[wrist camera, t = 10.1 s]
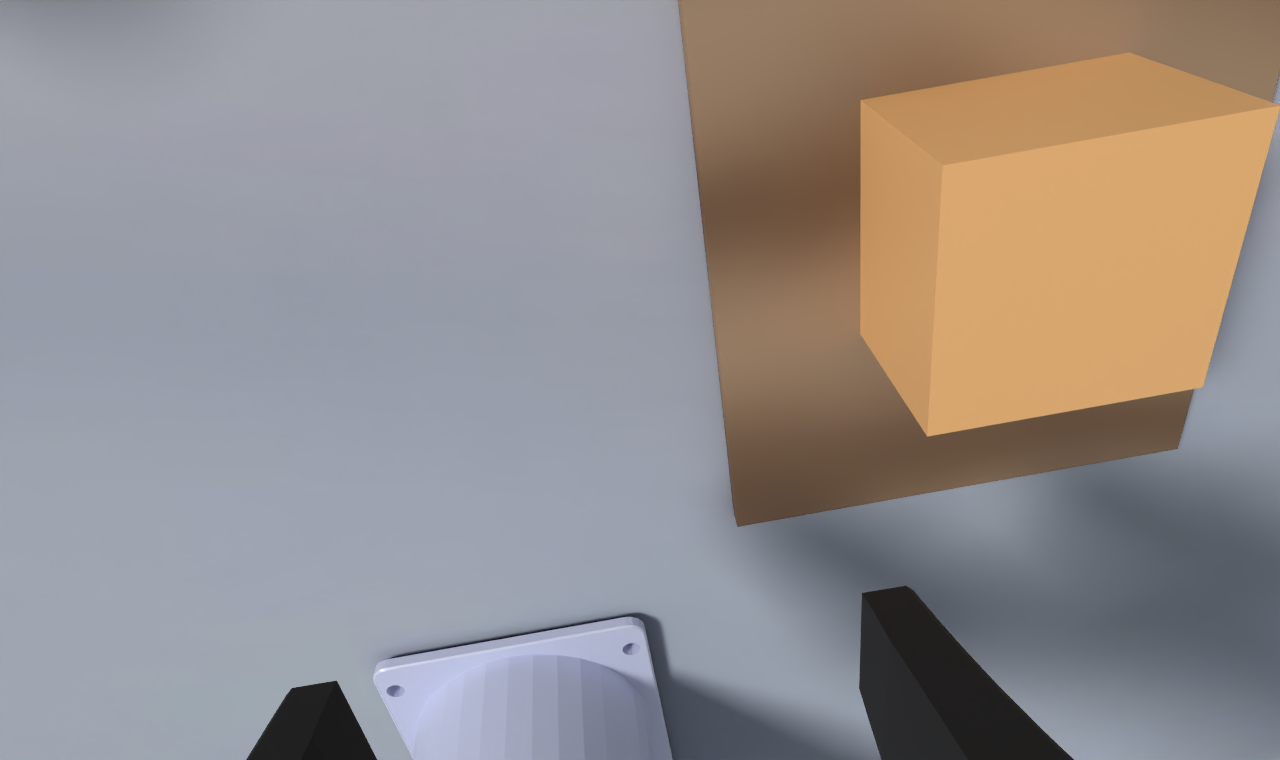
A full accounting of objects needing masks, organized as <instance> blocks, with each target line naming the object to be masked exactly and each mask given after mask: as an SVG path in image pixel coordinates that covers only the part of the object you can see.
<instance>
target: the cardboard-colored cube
mask: <svg viewBox="0 0 1280 760" xmlns="http://www.w3.org/2000/svg"><path fill="white" fill-rule="evenodd" d="M1279 110H1280V105H1278V104H1275V103H1272V102H1269V101H1266V100H1263V99H1261V98H1258V97H1255V96H1252V95H1249V94H1246V93H1244V92H1241V91H1238V90H1235V89H1232V88H1229V87H1226V86H1224V85H1221V84H1218V83H1215V82H1212V81H1209V80H1206V79H1204V78H1201V77H1198V76H1195V75H1192V74H1189V73H1186V72H1184V71H1181V70H1178V69H1175V68H1172V67H1169V66H1167V65H1164V64H1161V63H1158V62H1155V61H1152V60H1149V59H1147V58H1144V57H1141V56H1138V55H1135V54H1132V53H1124V54H1119V55H1113V56H1107V57H1102V58H1096V59H1090V60H1085V61H1079V62H1074V63H1068V64H1062V65H1057V66H1051V67H1045V68H1040V69H1034V70H1028V71H1023V72H1017V73H1011V74H1006V75H1000V76H994V77H989V78H983V79H978V80H972V81H966V82H961V83H955V84H949V85H944V86H938V87H932V88H927V89H921V90H915V91H910V92H904V93H898V94H893V95H887V96H881V97H876V98H870V99H865V100H861V199H860V334H861V336H862V338H863V339H864V341H865V342H866V344H867V345H868V347H869V348H870V350H871V351H872V353H873V354H874V356H875V357H876V359H877V360H878V362H879V364H880V365H881V367H882V368H883V370H884V371H885V373H886V374H887V376H888V377H889V379H890V380H891V382H892V383H893V385H894V386H895V388H896V390H897V391H898V393H899V394H900V396H901V397H902V399H903V400H904V402H905V403H906V405H907V406H908V408H909V409H910V411H911V412H912V414H913V416H914V417H915V419H916V420H917V422H918V423H919V425H920V426H921V428H922V429H923V431H924V432H925V434H926V435H927V437H928V436H933V435H939V434H945V433H950V432H956V431H961V430H967V429H973V428H978V427H984V426H989V425H995V424H1001V423H1006V422H1012V421H1017V420H1023V419H1029V418H1034V417H1040V416H1045V415H1051V414H1057V413H1062V412H1068V411H1073V410H1079V409H1085V408H1090V407H1096V406H1101V405H1107V404H1112V403H1118V402H1124V401H1129V400H1135V399H1140V398H1146V397H1152V396H1157V395H1163V394H1168V393H1174V392H1180V391H1185V390H1191V389H1196V388H1202V387H1203V385H1204V381H1205V378H1206V374H1207V370H1208V367H1209V363H1210V360H1211V356H1212V352H1213V349H1214V345H1215V342H1216V338H1217V334H1218V331H1219V327H1220V323H1221V320H1222V316H1223V313H1224V309H1225V305H1226V302H1227V298H1228V294H1229V291H1230V287H1231V284H1232V280H1233V276H1234V273H1235V269H1236V266H1237V262H1238V258H1239V255H1240V251H1241V247H1242V244H1243V240H1244V237H1245V233H1246V229H1247V226H1248V222H1249V218H1250V215H1251V211H1252V208H1253V204H1254V200H1255V197H1256V193H1257V190H1258V186H1259V182H1260V179H1261V175H1262V171H1263V168H1264V164H1265V161H1266V157H1267V153H1268V150H1269V146H1270V142H1271V139H1272V135H1273V132H1274V128H1275V124H1276V121H1277V117H1278V114H1279Z"/></svg>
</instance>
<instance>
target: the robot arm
mask: <svg viewBox="0 0 1280 760" xmlns="http://www.w3.org/2000/svg"><path fill="white" fill-rule="evenodd" d="M629 643H634V644H629ZM373 681H374V684H375V685H376V687H377V689H378V691H379V693H380V695H381V697H382V699H383V701H384V703H385V705H386V707H387V709H388V711H389V713H390V715H391V717H392V719H393V721H394V723H395V725H396V727H397V729H398V731H399V733H400V735H401V737H402V739H403V741H404V743H405V744H406V746H407V748H408V750H409V752H410V754H411V756H412V758H413V760H673V758H672V753H671V749H670V744H669V739H668V734H667V730H666V725H665V720H664V715H663V711H662V706H661V701H660V696H659V692H658V687H657V682H656V677H655V672H654V668H653V663H652V658H651V653H650V649H649V644H648V639H647V634H646V630H645V625H644V623H643V622H642V621H641V620H640V619H638V618H634V617H622V618H617V619H611V620H605V621H600V622H594V623H589V624H583V625H577V626H572V627H566V628H560V629H555V630H549V631H544V632H538V633H532V634H527V635H521V636H515V637H510V638H504V639H499V640H493V641H487V642H482V643H476V644H470V645H465V646H459V647H454V648H448V649H442V650H437V651H431V652H425V653H420V654H414V655H409V656H403V657H397V658H392V659H387V660H384V661H381V662H380V663H378V664H377V665H376V667H375V670H374V675H373ZM859 689H860V692H861V695H862V698H863V702H864V705H865V708H866V712H867V715H868V718H869V721H870V725H871V728H872V731H873V734H874V737H875V740H876V744H877V747H878V750H879V753H880V756H881V759H882V760H1074V759H1073V758H1072V757H1070V756H1069V755H1068V754H1067V753H1066V752H1065V751H1064V750H1063V749H1062V748H1061V747H1060V746H1059V745H1058V744H1057V743H1056V742H1055V741H1054V740H1053V739H1051V738H1050V737H1049V736H1048V735H1047V734H1046V733H1045V732H1044V731H1043V730H1042V729H1041V728H1040V727H1039V726H1038V725H1037V724H1036V723H1035V722H1034V721H1033V720H1032V719H1031V718H1030V717H1029V716H1028V715H1027V714H1026V713H1025V712H1024V711H1023V710H1022V709H1021V708H1020V707H1019V706H1018V705H1017V704H1016V703H1015V702H1014V701H1013V700H1012V699H1011V698H1010V697H1009V696H1008V695H1007V694H1006V693H1005V692H1004V691H1003V690H1002V689H1001V688H1000V687H999V686H998V685H997V684H996V683H995V682H994V680H993V679H992V678H991V677H990V676H989V675H988V674H987V673H986V672H985V671H984V670H983V669H982V668H981V667H980V666H979V665H978V663H977V662H976V661H975V660H974V659H973V658H972V657H971V656H970V655H969V654H968V653H967V652H966V650H965V649H964V648H963V647H962V646H961V645H960V644H959V643H958V642H957V641H956V639H955V638H954V637H953V636H952V635H951V634H950V633H949V632H948V630H947V629H946V628H945V627H944V626H943V625H942V624H941V622H940V621H939V620H938V619H937V618H936V617H935V616H934V614H933V613H932V612H931V611H930V610H929V609H928V607H927V606H926V605H925V604H924V603H923V601H922V600H921V599H920V598H919V597H918V595H917V594H916V593H915V592H914V591H913V590H912V589H910V588H909V587H907V586H902V587H896V588H890V589H884V590H878V591H872V592H866V593H862V615H861V650H860V684H859ZM246 760H377V759H376V757H375V755H374V753H373V751H372V749H371V747H370V745H369V743H368V741H367V739H366V737H365V735H364V733H363V731H362V729H361V727H360V725H359V723H358V721H357V720H356V718H355V716H354V714H353V712H352V710H351V708H350V706H349V704H348V702H347V700H346V698H345V696H344V694H343V692H342V690H341V688H340V686H339V684H338V682H337V681H332V682H326V683H320V684H314V685H308V686H302V687H296V688H292V689H291V690H290V691H289V693H288V694H287V695H286V697H285V698H284V700H283V702H282V703H281V705H280V706H279V708H278V710H277V711H276V713H275V714H274V716H273V718H272V719H271V721H270V722H269V724H268V726H267V727H266V729H265V730H264V732H263V734H262V735H261V737H260V739H259V740H258V742H257V743H256V745H255V747H254V748H253V750H252V751H251V753H250V755H249V756H248V758H247V759H246Z"/></svg>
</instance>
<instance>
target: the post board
mask: <svg viewBox="0 0 1280 760" xmlns="http://www.w3.org/2000/svg"><path fill="white" fill-rule="evenodd" d="M678 6H679V15H680V24H681V33H682V42H683V51H684V60H685V70H686V79H687V88H688V97H689V106H690V115H691V124H692V134H693V143H694V152H695V161H696V170H697V179H698V189H699V198H700V207H701V216H702V225H703V234H704V243H705V253H706V262H707V271H708V280H709V289H710V298H711V308H712V317H713V326H714V335H715V344H716V353H717V362H718V372H719V381H720V390H721V399H722V408H723V417H724V427H725V436H726V445H727V454H728V463H729V472H730V481H731V491H732V500H733V509H734V516H735V519H736V523H737V526H738V527H739V526H744V525H750V524H756V523H761V522H767V521H772V520H778V519H784V518H789V517H795V516H801V515H806V514H812V513H818V512H823V511H829V510H835V509H840V508H846V507H851V506H857V505H863V504H868V503H874V502H880V501H885V500H891V499H897V498H902V497H908V496H913V495H919V494H925V493H930V492H936V491H942V490H947V489H953V488H959V487H964V486H970V485H976V484H981V483H987V482H992V481H998V480H1004V479H1009V478H1015V477H1021V476H1026V475H1032V474H1038V473H1043V472H1049V471H1055V470H1060V469H1066V468H1071V467H1077V466H1083V465H1088V464H1094V463H1100V462H1105V461H1111V460H1117V459H1122V458H1128V457H1133V456H1139V455H1145V454H1150V453H1156V452H1162V451H1167V450H1173V449H1178V445H1179V441H1180V438H1181V434H1182V430H1183V426H1184V423H1185V419H1186V415H1187V412H1188V408H1189V404H1190V401H1191V397H1192V393H1193V390H1194V389H1191V390H1185V391H1180V392H1174V393H1168V394H1163V395H1157V396H1152V397H1146V398H1140V399H1135V400H1129V401H1124V402H1118V403H1112V404H1107V405H1101V406H1096V407H1090V408H1085V409H1079V410H1073V411H1068V412H1062V413H1057V414H1051V415H1045V416H1040V417H1034V418H1029V419H1023V420H1017V421H1012V422H1006V423H1001V424H995V425H989V426H984V427H978V428H973V429H967V430H961V431H956V432H950V433H945V434H939V435H933V436H928V437H927V435H926V434H925V432H924V431H923V429H922V428H921V426H920V425H919V423H918V422H917V420H916V419H915V417H914V416H913V414H912V412H911V411H910V409H909V408H908V406H907V405H906V403H905V402H904V400H903V399H902V397H901V396H900V394H899V393H898V391H897V390H896V388H895V386H894V385H893V383H892V382H891V380H890V379H889V377H888V376H887V374H886V373H885V371H884V370H883V368H882V367H881V365H880V364H879V362H878V360H877V359H876V357H875V356H874V354H873V353H872V351H871V350H870V348H869V347H868V345H867V344H866V342H865V341H864V339H863V338H862V336H861V334H860V199H861V100H865V99H870V98H876V97H881V96H887V95H893V94H898V93H904V92H910V91H915V90H921V89H927V88H932V87H938V86H944V85H949V84H955V83H961V82H966V81H972V80H978V79H983V78H989V77H994V76H1000V75H1006V74H1011V73H1017V72H1023V71H1028V70H1034V69H1040V68H1045V67H1051V66H1057V65H1062V64H1068V63H1074V62H1079V61H1085V60H1090V59H1096V58H1102V57H1107V56H1113V55H1119V54H1124V53H1132V54H1135V55H1138V56H1141V57H1144V58H1147V59H1149V60H1152V61H1155V62H1158V63H1161V64H1164V65H1167V66H1169V67H1172V68H1175V69H1178V70H1181V71H1184V72H1186V73H1189V74H1192V75H1195V76H1198V77H1201V78H1204V79H1206V80H1209V81H1212V82H1215V83H1218V84H1221V85H1224V86H1226V87H1229V88H1232V89H1235V90H1238V91H1241V92H1244V93H1246V94H1249V95H1252V96H1255V97H1258V98H1261V99H1263V100H1266V101H1269V102H1272V99H1273V95H1274V92H1275V88H1276V84H1277V81H1278V77H1279V73H1280V0H678Z"/></svg>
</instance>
